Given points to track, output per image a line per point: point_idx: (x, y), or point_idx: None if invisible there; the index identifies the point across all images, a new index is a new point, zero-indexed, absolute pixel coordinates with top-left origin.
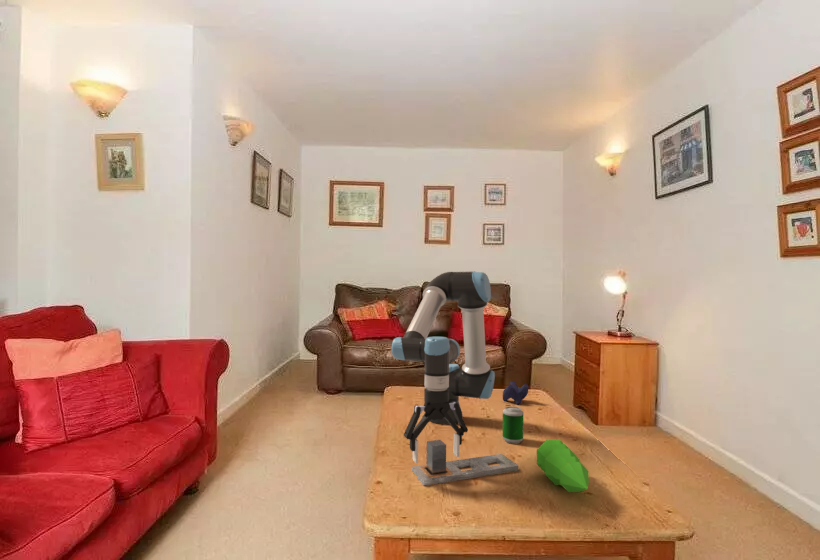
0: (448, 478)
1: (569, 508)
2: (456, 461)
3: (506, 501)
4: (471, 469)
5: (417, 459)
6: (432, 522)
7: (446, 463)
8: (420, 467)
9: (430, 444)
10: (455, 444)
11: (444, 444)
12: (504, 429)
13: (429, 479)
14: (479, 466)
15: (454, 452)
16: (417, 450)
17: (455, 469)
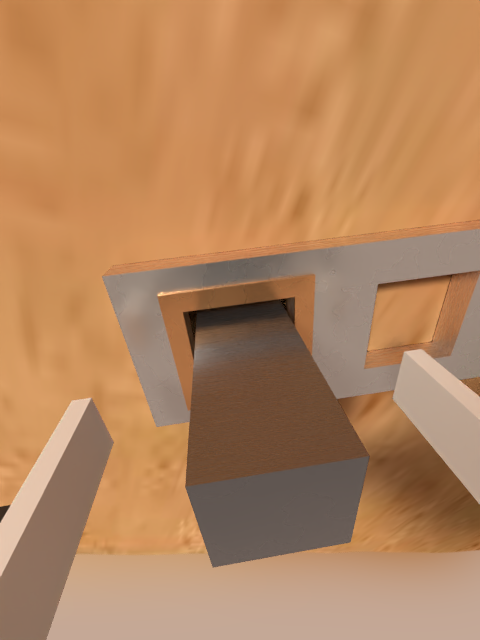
0: None
1: (476, 512)
2: (415, 255)
3: (375, 491)
4: None
5: (101, 463)
6: (152, 546)
7: (342, 271)
8: (159, 306)
9: (206, 543)
10: (461, 448)
11: (338, 540)
12: None
13: (184, 421)
14: (474, 339)
15: (411, 378)
16: (73, 540)
17: (346, 350)
